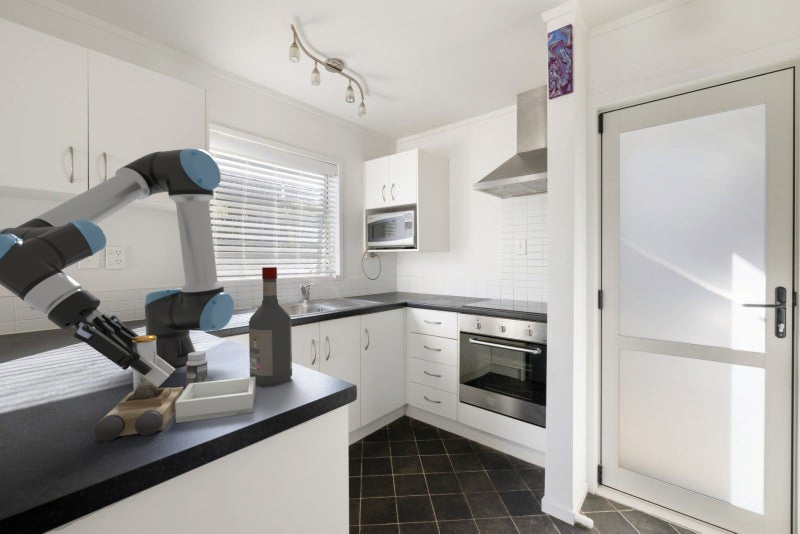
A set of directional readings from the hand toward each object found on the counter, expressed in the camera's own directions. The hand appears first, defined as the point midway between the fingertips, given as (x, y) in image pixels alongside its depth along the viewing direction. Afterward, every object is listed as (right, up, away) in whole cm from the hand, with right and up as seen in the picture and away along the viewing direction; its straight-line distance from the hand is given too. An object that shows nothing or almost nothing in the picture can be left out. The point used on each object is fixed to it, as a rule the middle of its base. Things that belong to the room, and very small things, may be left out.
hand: (166, 377), depth 76 cm
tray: (+9, -7, +4) cm, 12 cm away
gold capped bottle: (-4, -4, -1) cm, 6 cm away
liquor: (+14, -7, +21) cm, 26 cm away
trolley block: (-3, -8, -1) cm, 8 cm away
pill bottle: (-4, -8, +18) cm, 20 cm away
